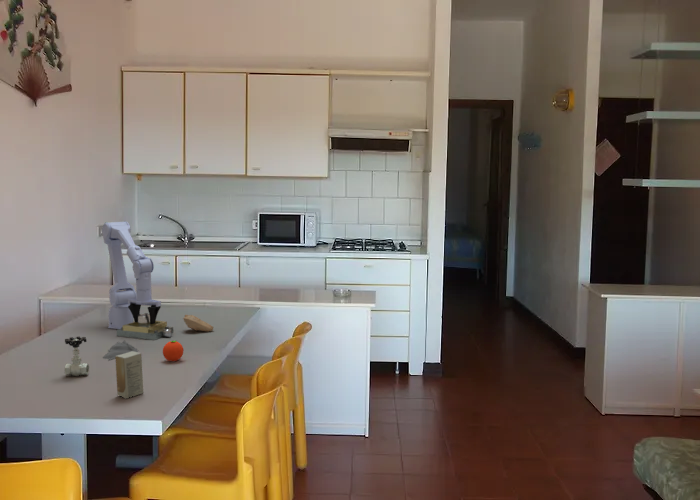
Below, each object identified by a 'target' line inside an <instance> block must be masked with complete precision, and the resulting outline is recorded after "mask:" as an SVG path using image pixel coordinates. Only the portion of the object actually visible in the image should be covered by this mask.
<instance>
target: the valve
mask: <svg viewBox="0 0 700 500" xmlns="http://www.w3.org/2000/svg"><path fill="white" fill-rule="evenodd" d="M83 342H84V343H87V338H86V337H85V336H82V337H80V336H76V337H71V336H70V337H69V338H65V339H64V343H65V345H69V347H72V348H74V349H73V350H72V355H74V356H73V357H72V358H71V363H66V364H65V366H64V375H66V376H74V377H80V376H81V375H82V376H87V375H88V374H89V372H90V365H89V363H87V362H86V363H82V361H83V360H82V358H83V357H81V356H80V349H78V348H79V347H80V345H82V344H83ZM79 375H80V376H79Z"/></svg>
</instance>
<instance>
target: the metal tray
mask: <svg viewBox="0 0 700 500" xmlns="http://www.w3.org/2000/svg"><path fill="white" fill-rule="evenodd" d="M173 333H174V327H173V326H168V321H165V320H156V321H155V324H150V326H149V327H140V326H138V322H137V323H135V321H133V322H132V323H129V324H125V325H123V327H121V328H120V329H116V336H117V337H124V338H132V339H141V340H152V341H157V340H159V339H162V338H164V337H165V338H166V337H167V338H171V337H172V336H173V335H174V334H173Z"/></svg>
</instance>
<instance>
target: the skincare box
mask: <svg viewBox="0 0 700 500" xmlns="http://www.w3.org/2000/svg"><path fill="white" fill-rule="evenodd" d="M115 358H116V359H115V371H116V375H115V377H116V391H117V394H116V395H117V396H118V395H119V396H122V397H124V398H123V399H126V398H127V399H130V398H132V396H133V397H135V396H139V395H141V394H144V379H143V378H144V377H143V360H142V352H139V351H138V352H134V351H131V352H128V353H124V354H121V355H117V356H115ZM119 396H118V397H119ZM122 397H121V398H122ZM129 397H130V398H129Z"/></svg>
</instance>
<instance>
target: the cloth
mask: <svg viewBox="0 0 700 500" xmlns="http://www.w3.org/2000/svg"><path fill="white" fill-rule="evenodd" d="M107 351H108V352H107V353H105V355H103V357H102V359H105V360H106V359H107V361H108V362H109V361H113V360H116V358H115V356H117V355H121V354H124V353H128V352H131V351H134V352H138V353H139V350H138V348H136V347H135V346H133V345H132V344H129V342H127V341H126V340H123V341H122V342H120V341H118V342H116V343H114V344H113V345H112V346H111V347H110V348H109V349H107Z"/></svg>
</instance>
